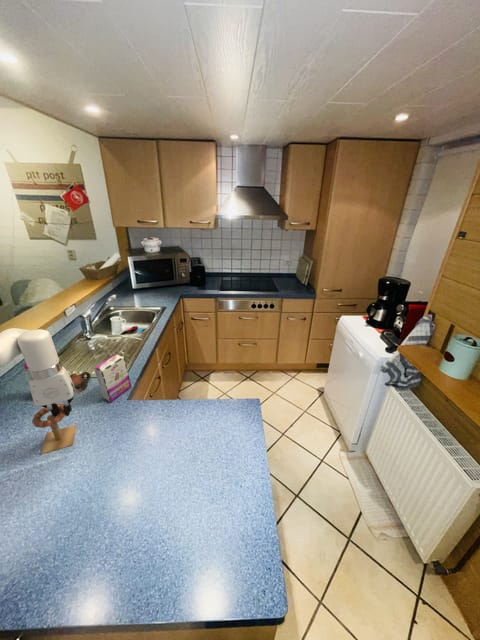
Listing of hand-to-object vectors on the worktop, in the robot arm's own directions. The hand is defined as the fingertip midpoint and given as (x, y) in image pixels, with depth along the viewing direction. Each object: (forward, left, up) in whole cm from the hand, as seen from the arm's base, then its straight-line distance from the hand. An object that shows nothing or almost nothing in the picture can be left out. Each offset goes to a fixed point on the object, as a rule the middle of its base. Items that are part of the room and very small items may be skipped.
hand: (63, 414), depth 83 cm
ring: (-3, 0, +1) cm, 4 cm away
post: (-3, 0, -11) cm, 12 cm away
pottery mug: (-1, +29, -11) cm, 31 cm away
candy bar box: (+15, +19, -11) cm, 26 cm away
